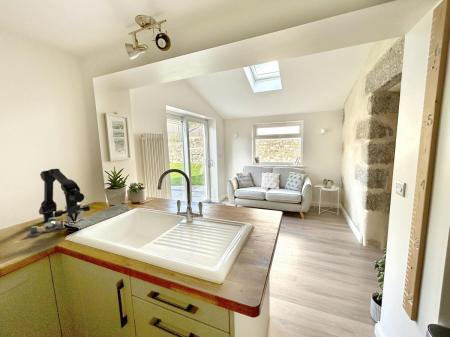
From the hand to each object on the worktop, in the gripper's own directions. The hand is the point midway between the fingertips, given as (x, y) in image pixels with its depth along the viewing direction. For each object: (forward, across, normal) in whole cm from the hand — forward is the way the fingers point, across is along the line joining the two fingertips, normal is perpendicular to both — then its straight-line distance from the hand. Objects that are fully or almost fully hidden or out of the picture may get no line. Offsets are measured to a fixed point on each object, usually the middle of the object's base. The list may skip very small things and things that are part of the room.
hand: (74, 223), depth 132 cm
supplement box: (+3, 0, +15) cm, 15 cm away
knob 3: (+1, -6, +3) cm, 6 cm away
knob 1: (+1, -19, +4) cm, 19 cm away
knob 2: (+1, -11, +17) cm, 21 cm away
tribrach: (+3, -13, +11) cm, 17 cm away
